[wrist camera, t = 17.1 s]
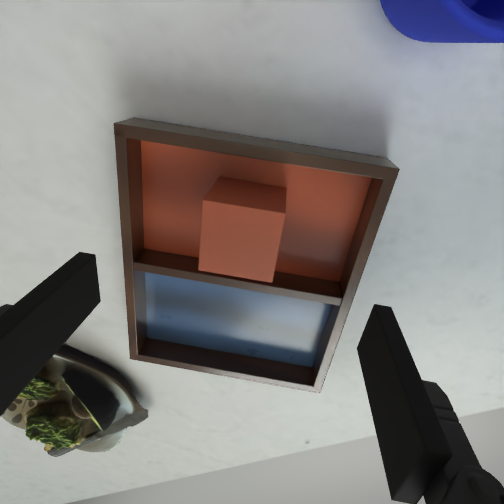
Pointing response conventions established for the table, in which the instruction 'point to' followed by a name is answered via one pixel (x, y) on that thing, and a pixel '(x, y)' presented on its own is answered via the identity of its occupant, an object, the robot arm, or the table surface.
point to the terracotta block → (242, 229)
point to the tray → (237, 288)
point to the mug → (448, 20)
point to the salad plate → (76, 405)
